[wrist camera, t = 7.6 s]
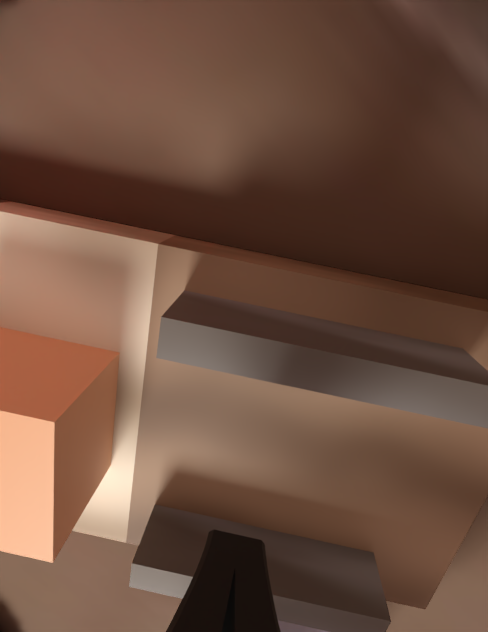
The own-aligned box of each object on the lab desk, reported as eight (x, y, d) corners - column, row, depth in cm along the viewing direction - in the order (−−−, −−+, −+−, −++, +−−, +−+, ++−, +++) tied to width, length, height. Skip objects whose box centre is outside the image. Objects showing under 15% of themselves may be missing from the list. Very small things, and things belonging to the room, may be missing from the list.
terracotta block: (110, 465, 15) (52, 562, 11) (-13, 438, 15) (-112, 525, 11) (119, 352, 13) (54, 422, 9) (-20, 322, 13) (-141, 379, 9)
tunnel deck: (409, 563, 18) (450, 683, 13) (-158, 438, 18) (-290, 516, 14) (536, 309, 13) (656, 370, 9) (-225, 152, 14) (-450, 139, 9)
